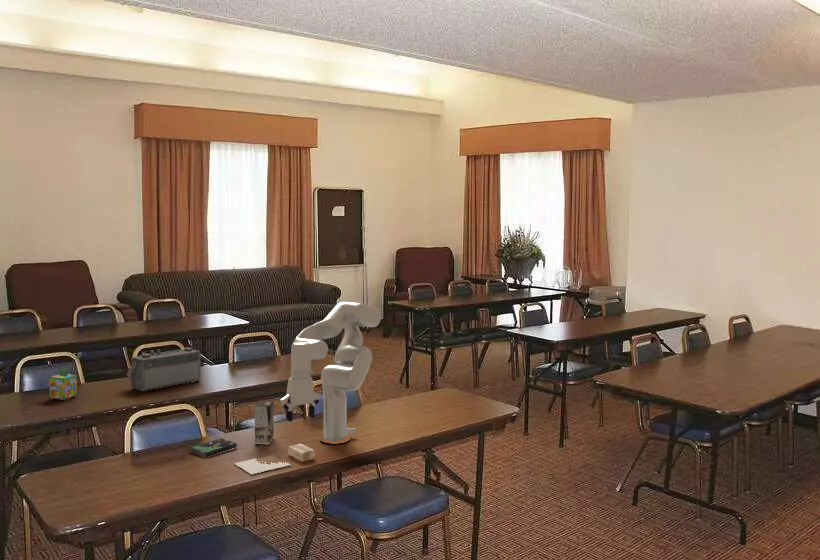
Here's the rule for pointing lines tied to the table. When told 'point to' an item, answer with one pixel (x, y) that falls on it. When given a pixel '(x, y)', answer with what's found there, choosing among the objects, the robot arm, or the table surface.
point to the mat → (259, 466)
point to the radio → (164, 369)
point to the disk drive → (213, 447)
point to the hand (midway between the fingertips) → (300, 418)
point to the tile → (301, 451)
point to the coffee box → (264, 421)
